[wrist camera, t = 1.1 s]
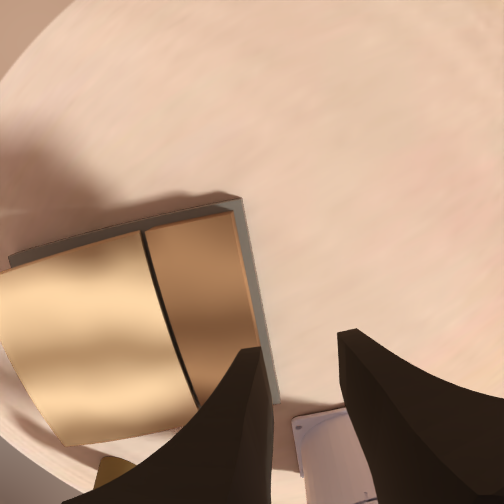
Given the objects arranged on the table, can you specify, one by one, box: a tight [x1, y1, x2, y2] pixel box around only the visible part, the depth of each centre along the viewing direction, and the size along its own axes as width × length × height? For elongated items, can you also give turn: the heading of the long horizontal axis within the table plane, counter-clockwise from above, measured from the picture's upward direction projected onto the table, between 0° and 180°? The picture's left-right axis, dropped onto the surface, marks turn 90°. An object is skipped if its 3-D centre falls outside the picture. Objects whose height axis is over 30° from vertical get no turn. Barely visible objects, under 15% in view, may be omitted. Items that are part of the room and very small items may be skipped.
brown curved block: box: [145, 210, 273, 406], centre depth 17 cm, size 13×4×2 cm, turn 10°
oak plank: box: [0, 230, 199, 447], centre depth 16 cm, size 13×11×2 cm
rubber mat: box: [8, 198, 281, 409], centre depth 19 cm, size 14×18×1 cm
